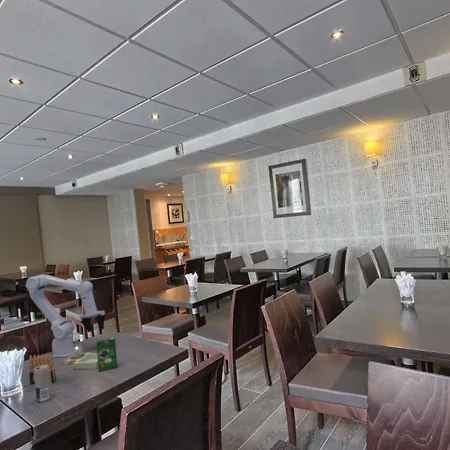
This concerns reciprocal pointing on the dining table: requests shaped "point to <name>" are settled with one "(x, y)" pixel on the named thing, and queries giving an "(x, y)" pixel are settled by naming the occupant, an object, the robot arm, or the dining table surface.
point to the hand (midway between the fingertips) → (96, 330)
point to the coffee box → (106, 354)
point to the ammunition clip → (38, 361)
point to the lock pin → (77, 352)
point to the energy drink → (43, 383)
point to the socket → (71, 360)
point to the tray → (87, 362)
